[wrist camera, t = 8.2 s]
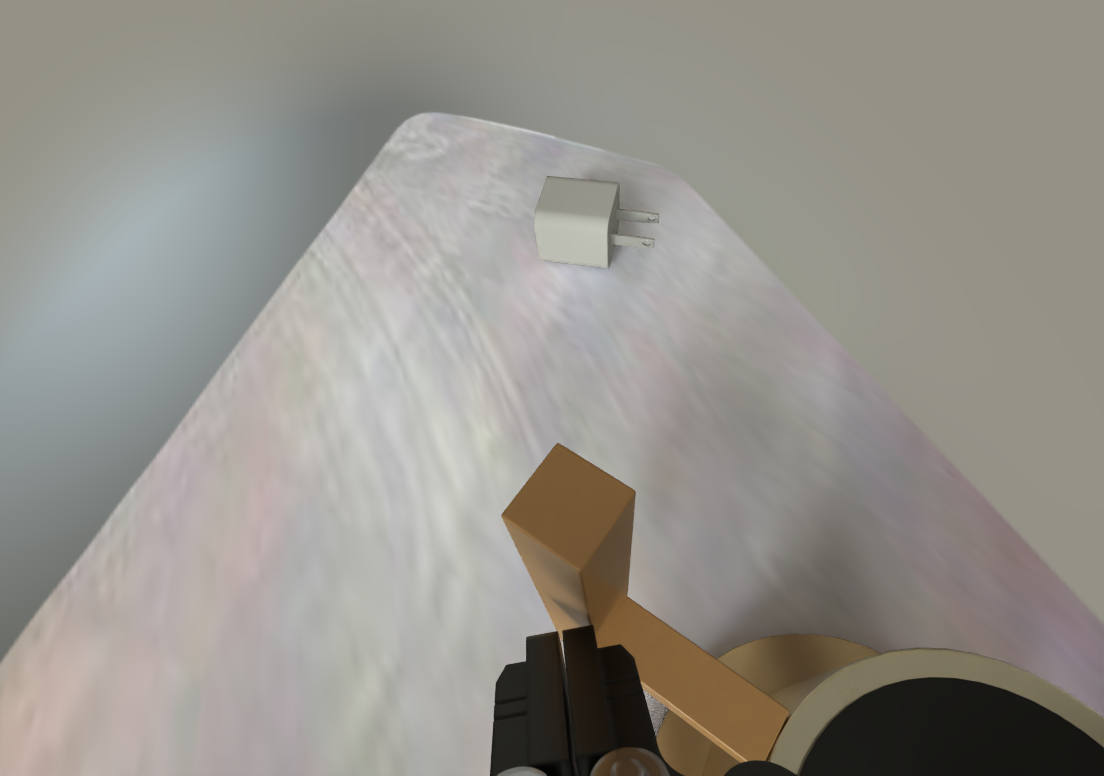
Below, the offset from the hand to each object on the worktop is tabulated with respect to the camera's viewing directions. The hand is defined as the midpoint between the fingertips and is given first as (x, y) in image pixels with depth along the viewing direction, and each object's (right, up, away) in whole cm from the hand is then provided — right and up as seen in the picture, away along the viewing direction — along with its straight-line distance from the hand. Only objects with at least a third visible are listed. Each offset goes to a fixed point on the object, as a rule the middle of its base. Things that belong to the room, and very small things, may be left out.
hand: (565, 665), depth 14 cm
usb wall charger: (+3, +15, +25) cm, 30 cm away
